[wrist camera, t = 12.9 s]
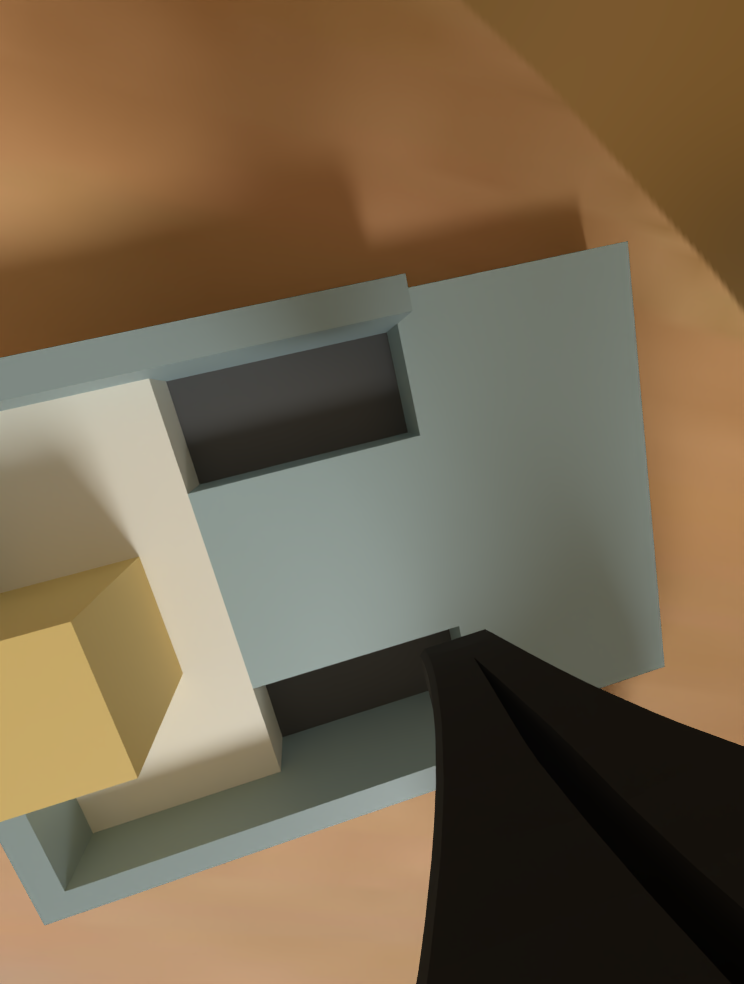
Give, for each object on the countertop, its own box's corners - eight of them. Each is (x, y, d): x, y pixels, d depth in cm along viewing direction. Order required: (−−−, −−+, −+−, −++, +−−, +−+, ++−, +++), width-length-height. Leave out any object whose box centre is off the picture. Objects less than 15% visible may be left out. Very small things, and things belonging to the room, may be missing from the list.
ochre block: (183, 673, 16) (137, 778, 11) (50, 712, 15) (-52, 838, 11) (139, 556, 14) (70, 621, 10) (-5, 594, 14) (-143, 679, 10)
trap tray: (630, 642, 21) (706, 696, 17) (99, 814, 18) (44, 925, 14) (590, 259, 17) (675, 217, 13) (-91, 406, 14) (-235, 406, 10)
